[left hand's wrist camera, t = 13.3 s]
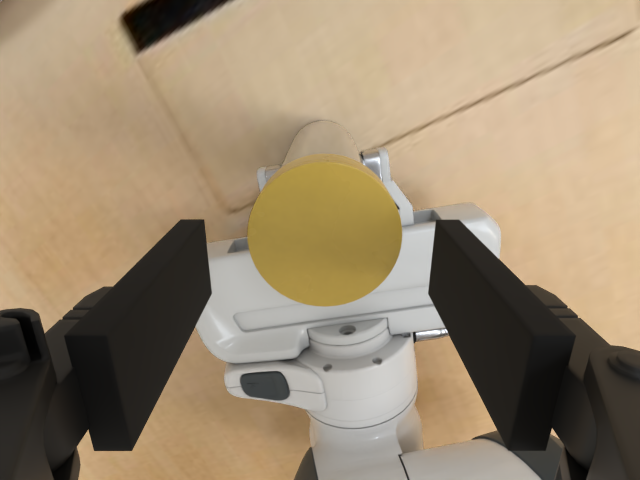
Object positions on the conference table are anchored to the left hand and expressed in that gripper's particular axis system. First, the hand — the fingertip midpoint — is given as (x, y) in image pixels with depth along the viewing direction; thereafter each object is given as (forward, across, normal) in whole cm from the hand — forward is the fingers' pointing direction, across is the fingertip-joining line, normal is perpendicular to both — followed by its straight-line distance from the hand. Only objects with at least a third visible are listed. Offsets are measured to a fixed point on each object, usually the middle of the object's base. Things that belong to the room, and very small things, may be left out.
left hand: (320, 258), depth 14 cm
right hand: (+12, 0, -1) cm, 12 cm away
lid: (+1, 0, 0) cm, 1 cm away
